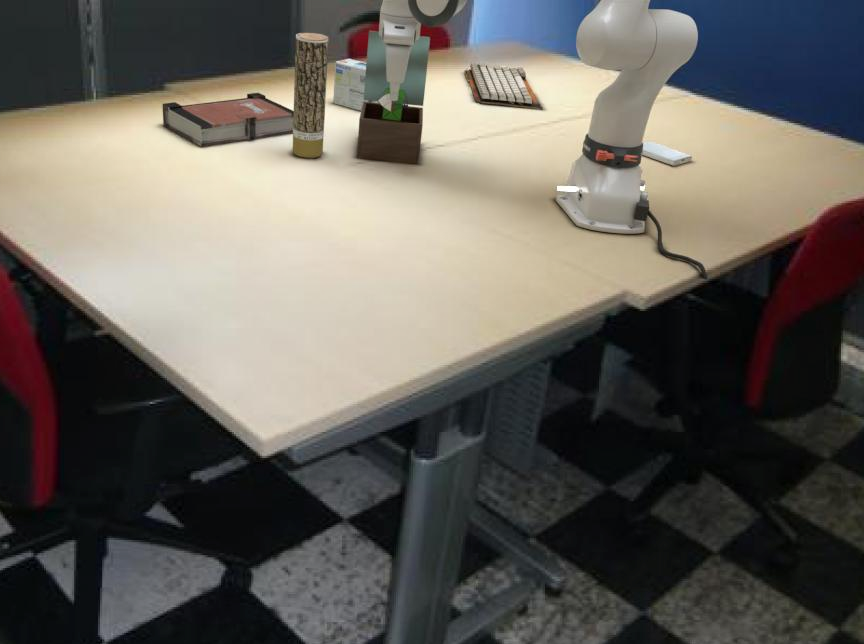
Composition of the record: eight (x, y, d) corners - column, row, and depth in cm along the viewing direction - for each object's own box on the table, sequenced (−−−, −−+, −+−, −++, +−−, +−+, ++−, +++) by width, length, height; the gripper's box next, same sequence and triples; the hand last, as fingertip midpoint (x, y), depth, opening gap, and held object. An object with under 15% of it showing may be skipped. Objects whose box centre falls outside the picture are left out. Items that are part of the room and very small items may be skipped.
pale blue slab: (430, 37, 205) (430, 37, 206) (369, 30, 205) (369, 30, 206) (423, 106, 210) (423, 106, 211) (363, 99, 210) (363, 99, 210)
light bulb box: (379, 108, 239) (383, 65, 233) (365, 112, 234) (368, 69, 228) (346, 99, 243) (349, 57, 237) (332, 103, 238) (334, 61, 232)
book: (202, 147, 199) (202, 125, 196) (163, 125, 209) (162, 103, 206) (299, 133, 214) (300, 111, 211) (258, 113, 225) (258, 92, 222)
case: (418, 164, 204) (422, 125, 199) (356, 157, 203) (359, 118, 198) (418, 144, 215) (422, 107, 211) (360, 138, 215) (363, 101, 210)
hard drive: (632, 145, 226) (674, 159, 219) (650, 140, 231) (692, 154, 224) (630, 151, 227) (672, 166, 220) (649, 147, 232) (691, 161, 225)
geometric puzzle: (381, 101, 206) (380, 76, 199) (410, 106, 206) (411, 81, 198) (375, 126, 204) (375, 102, 196) (405, 131, 203) (406, 107, 196)
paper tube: (328, 155, 202) (335, 38, 189) (306, 161, 198) (311, 41, 184) (308, 147, 206) (313, 31, 192) (286, 152, 202) (289, 34, 188)
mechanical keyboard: (542, 109, 253) (545, 97, 251) (475, 104, 251) (477, 92, 250) (522, 76, 284) (524, 65, 283) (462, 71, 283) (463, 60, 281)
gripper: (386, 18, 201) (381, 82, 208) (383, 35, 183) (378, 105, 191) (414, 20, 201) (408, 84, 208) (414, 38, 184) (407, 107, 191)
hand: (394, 94), depth 199 cm, fingers open, 8 cm apart
